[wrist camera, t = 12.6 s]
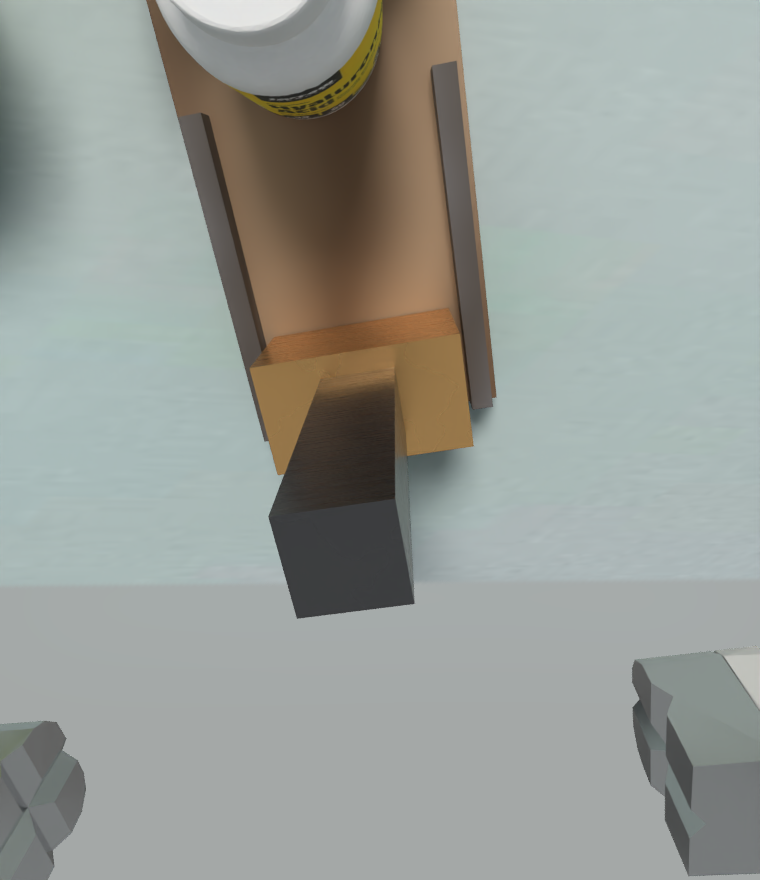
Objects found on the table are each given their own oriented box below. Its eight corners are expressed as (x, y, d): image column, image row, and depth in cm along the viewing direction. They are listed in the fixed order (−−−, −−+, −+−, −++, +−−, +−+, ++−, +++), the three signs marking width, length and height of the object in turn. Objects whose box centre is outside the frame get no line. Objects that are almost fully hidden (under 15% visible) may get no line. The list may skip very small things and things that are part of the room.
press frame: (269, 420, 27) (226, 501, 20) (120, -149, 19) (-31, -334, 12) (491, 386, 26) (526, 458, 19) (427, -224, 19) (447, -467, 12)
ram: (296, 428, 25) (204, 658, 13) (274, 337, 24) (146, 498, 12) (460, 403, 25) (526, 619, 12) (448, 307, 23) (510, 446, 11)
